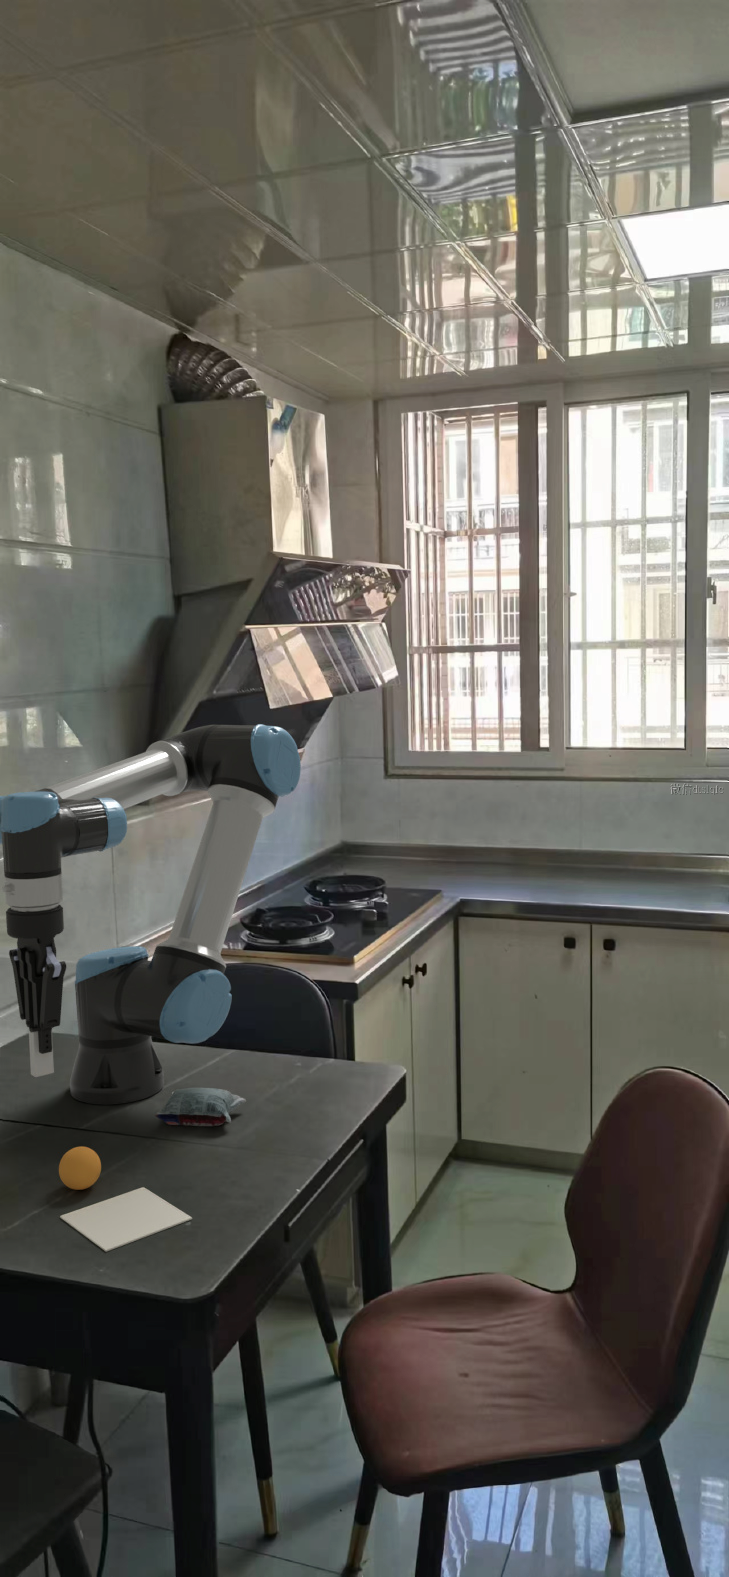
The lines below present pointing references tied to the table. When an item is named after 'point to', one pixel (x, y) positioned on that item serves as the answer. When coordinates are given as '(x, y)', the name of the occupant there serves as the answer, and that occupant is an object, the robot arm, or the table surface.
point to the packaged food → (199, 1107)
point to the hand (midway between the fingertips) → (42, 1073)
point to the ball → (79, 1168)
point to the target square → (125, 1218)
